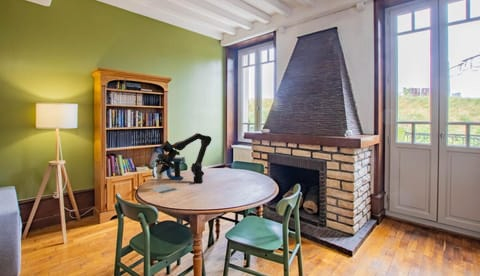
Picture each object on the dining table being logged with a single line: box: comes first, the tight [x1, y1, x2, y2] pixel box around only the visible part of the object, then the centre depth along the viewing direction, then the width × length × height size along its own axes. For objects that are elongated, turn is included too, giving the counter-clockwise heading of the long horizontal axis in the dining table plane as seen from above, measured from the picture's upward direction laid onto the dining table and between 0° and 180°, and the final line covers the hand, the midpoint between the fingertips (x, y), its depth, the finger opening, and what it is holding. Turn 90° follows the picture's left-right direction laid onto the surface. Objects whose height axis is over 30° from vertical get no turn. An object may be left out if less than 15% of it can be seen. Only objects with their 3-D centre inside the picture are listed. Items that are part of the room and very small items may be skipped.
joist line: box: [158, 187, 178, 194], centre depth 185 cm, size 12×4×1 cm, turn 139°
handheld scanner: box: [165, 156, 186, 181], centre depth 223 cm, size 5×16×20 cm, turn 78°
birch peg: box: [156, 164, 163, 181], centre depth 191 cm, size 4×4×11 cm
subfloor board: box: [147, 184, 181, 195], centre depth 190 cm, size 20×14×2 cm
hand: (157, 173), depth 190 cm, fingers closed on birch peg, 4 cm apart
